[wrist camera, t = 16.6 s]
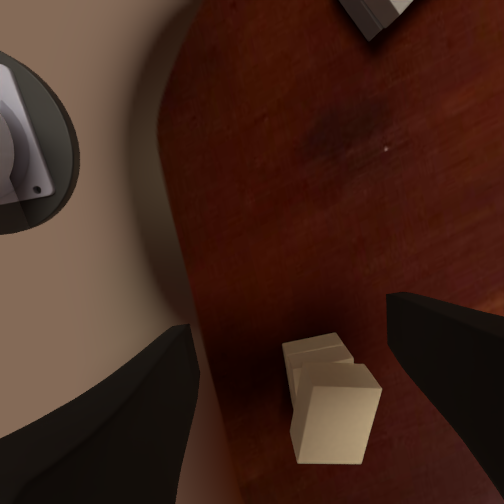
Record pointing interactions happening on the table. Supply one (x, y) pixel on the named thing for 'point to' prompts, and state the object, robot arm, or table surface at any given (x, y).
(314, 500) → the table surface
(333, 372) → the cream rectangular block
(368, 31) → the grey box
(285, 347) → the cream seamed block
